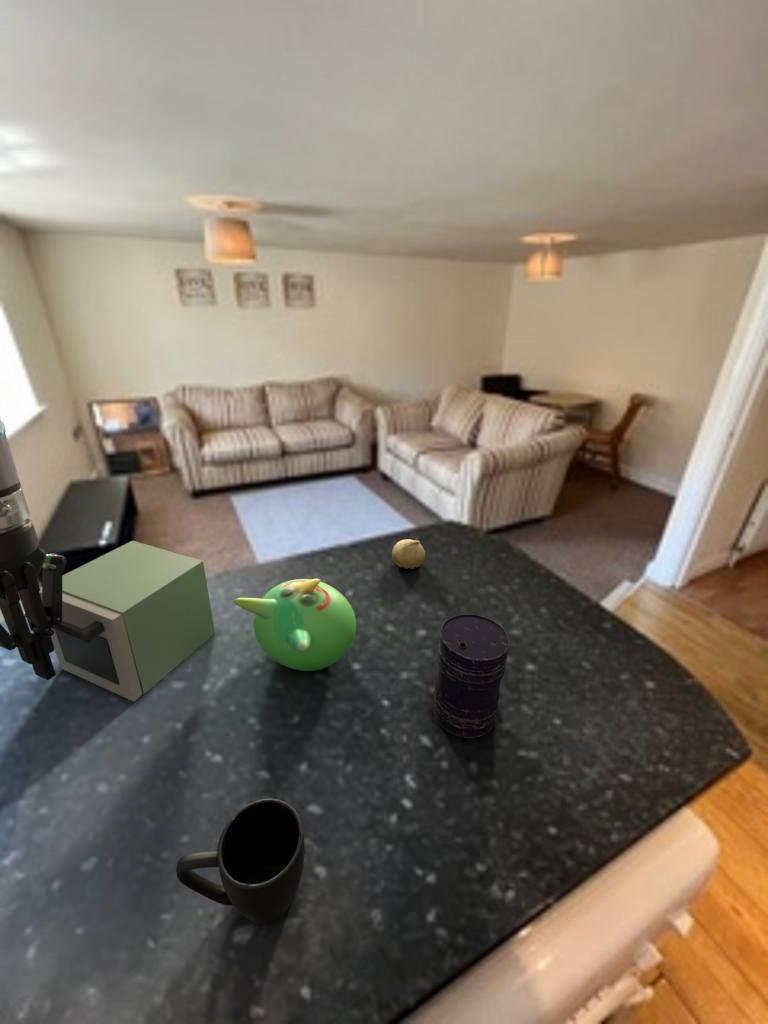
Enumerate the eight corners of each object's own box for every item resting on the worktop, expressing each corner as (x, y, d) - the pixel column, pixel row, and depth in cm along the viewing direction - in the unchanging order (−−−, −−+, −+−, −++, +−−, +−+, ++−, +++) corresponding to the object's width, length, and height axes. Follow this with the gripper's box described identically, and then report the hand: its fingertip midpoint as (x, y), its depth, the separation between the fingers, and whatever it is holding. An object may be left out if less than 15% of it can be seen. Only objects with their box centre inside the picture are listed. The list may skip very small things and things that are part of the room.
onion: (406, 577, 104) (408, 550, 101) (384, 563, 109) (385, 537, 106) (431, 566, 109) (433, 540, 106) (408, 553, 114) (410, 528, 111)
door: (115, 717, 67) (91, 633, 60) (41, 681, 73) (11, 601, 66) (142, 694, 71) (122, 613, 64) (70, 662, 77) (44, 585, 70)
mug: (197, 864, 50) (183, 811, 46) (306, 843, 52) (302, 791, 48) (182, 960, 43) (164, 907, 39) (309, 932, 45) (304, 879, 41)
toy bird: (373, 648, 82) (374, 581, 76) (310, 711, 69) (306, 636, 63) (300, 613, 91) (296, 550, 85) (233, 662, 78) (222, 592, 72)
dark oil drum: (458, 677, 76) (467, 605, 70) (508, 711, 70) (523, 636, 64) (419, 709, 70) (425, 634, 64) (471, 751, 64) (483, 672, 57)
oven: (144, 694, 71) (122, 612, 64) (71, 662, 77) (44, 584, 70) (215, 633, 85) (203, 560, 78) (149, 609, 90) (132, 540, 84)
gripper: (-53, 554, 48) (13, 716, 57) (65, 512, 59) (105, 654, 68) (-91, 540, 51) (-22, 697, 60) (29, 502, 62) (72, 640, 71)
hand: (45, 674), depth 64 cm, fingers closed
